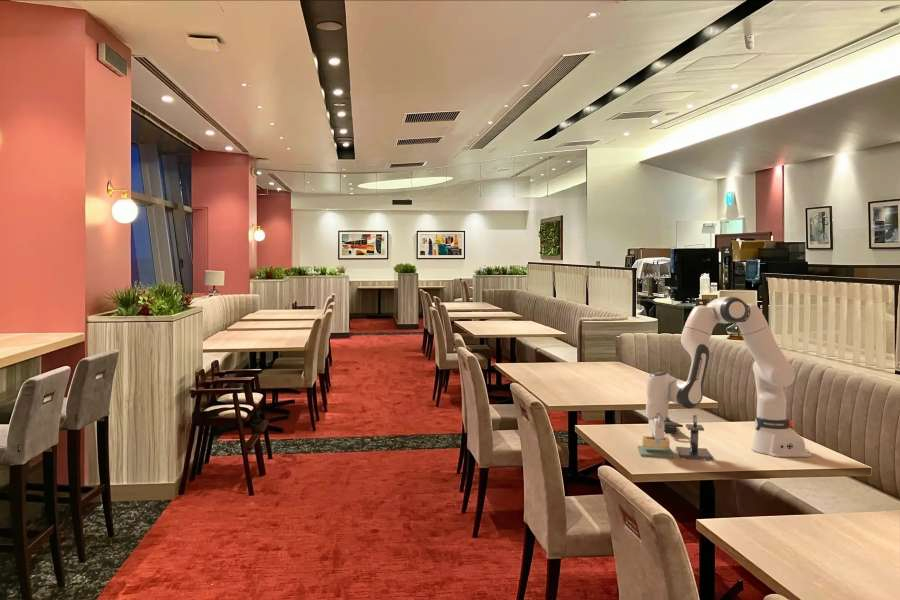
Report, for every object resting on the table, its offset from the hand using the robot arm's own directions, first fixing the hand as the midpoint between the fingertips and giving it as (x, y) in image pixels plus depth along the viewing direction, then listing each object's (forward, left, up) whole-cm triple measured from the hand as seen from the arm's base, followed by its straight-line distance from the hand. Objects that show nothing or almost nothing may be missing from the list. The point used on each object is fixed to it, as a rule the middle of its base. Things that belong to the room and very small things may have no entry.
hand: (655, 444), depth 280 cm
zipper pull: (-11, -37, -4) cm, 39 cm away
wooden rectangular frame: (0, 0, -1) cm, 1 cm away
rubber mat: (0, 0, -4) cm, 4 cm away
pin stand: (-15, 0, -4) cm, 15 cm away
